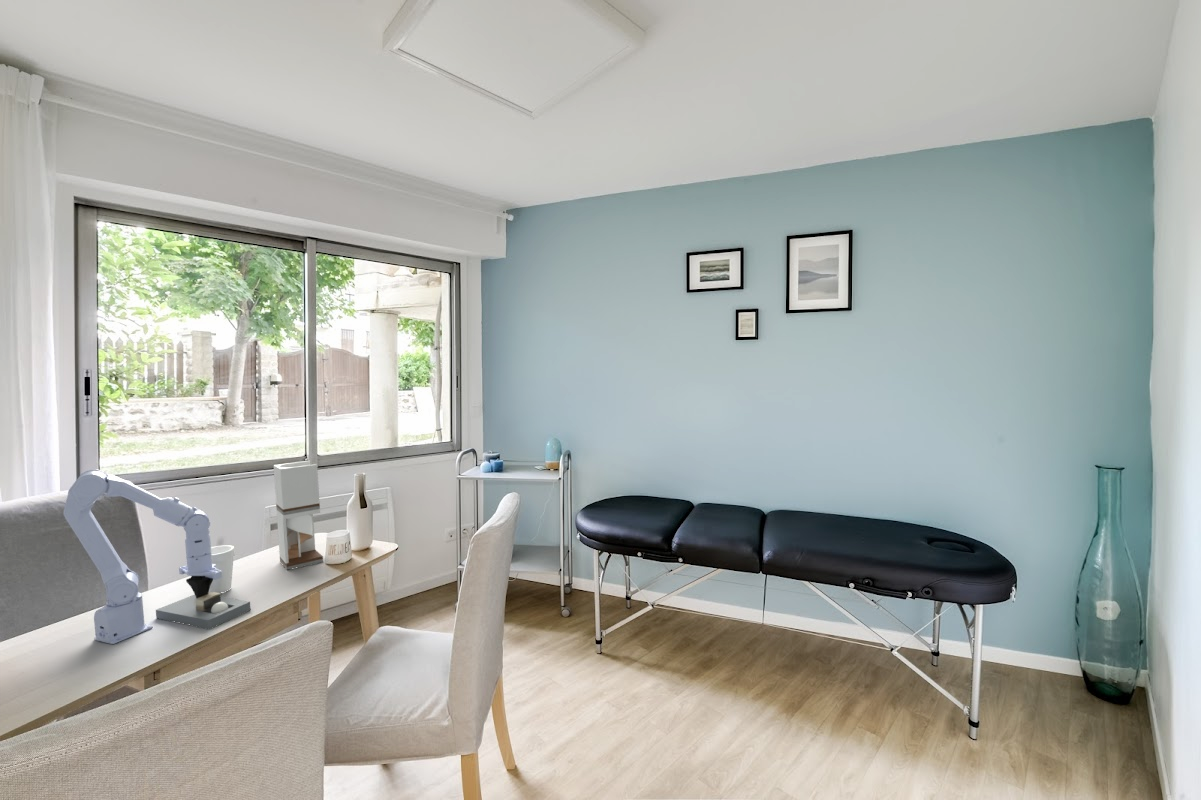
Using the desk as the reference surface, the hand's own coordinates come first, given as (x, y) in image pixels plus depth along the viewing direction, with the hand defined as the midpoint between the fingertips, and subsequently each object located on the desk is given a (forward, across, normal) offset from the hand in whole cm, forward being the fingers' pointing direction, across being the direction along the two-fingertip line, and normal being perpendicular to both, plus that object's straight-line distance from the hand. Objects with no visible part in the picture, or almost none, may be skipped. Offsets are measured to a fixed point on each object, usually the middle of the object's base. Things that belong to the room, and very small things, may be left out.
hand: (202, 600), depth 158 cm
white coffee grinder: (+4, +8, -40) cm, 41 cm away
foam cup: (+4, +12, -13) cm, 18 cm away
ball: (+2, -7, 0) cm, 7 cm away
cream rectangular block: (+1, -2, 0) cm, 3 cm away
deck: (+4, 0, 0) cm, 4 cm away
